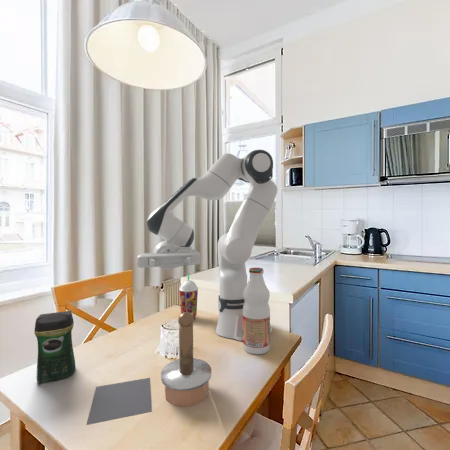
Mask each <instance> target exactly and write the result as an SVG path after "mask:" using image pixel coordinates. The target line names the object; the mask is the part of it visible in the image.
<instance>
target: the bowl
mask: <svg viewBox="0 0 450 450" xmlns="http://www.w3.org/2000/svg"><path fill="white" fill-rule="evenodd" d="M209 381H210V380H209ZM209 381H208V382H207V383H206V384H204V385H203V386H201V387H199V388H196V389H192V390H186V391H179V390H173V389H170V388H168V387H166V386H165V385H164V396H165V400H166V401H167V402H168V403H170V404H173V405H174V406H175V407H191V406H193V405H196V404H199V403H200V402H203V401H204V400H205V398H206V397H207V395H208V393H209V387H210V386H209V385H210V383H209Z"/></svg>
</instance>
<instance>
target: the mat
mask: <svg viewBox="0 0 450 450" xmlns="http://www.w3.org/2000/svg"><path fill="white" fill-rule="evenodd" d="M94 389H95V390H94V395H93V398H92V402H91V405H90V409H89V413H88V417H87V421H86V426H87V425H92V424H96V423H97V424H98V423H101V422H107V421H112V420H117V419H122V418H128V417H132V416H136V415H142V414H146V413H147V414H148V413H151V412H153V409H152V391H151V389H152V388H151V377H145V378H141V379H134V380H129V381H122V382H117V383H111V384H103V385H99V386H95V388H94Z"/></svg>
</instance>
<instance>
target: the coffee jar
mask: <svg viewBox="0 0 450 450" xmlns="http://www.w3.org/2000/svg"><path fill="white" fill-rule="evenodd" d="M73 328H74V317H73V313H72V311H71V310H65V311H60V312H59V311H58V312H49V313H40V315H38V316H37V317H36V319H35V324H34V330H33V331H34V335H35V338H36V340H37V341H36V342H37V358H36V359H37V360H36V361H37V363H36V382H37V383H39V384H45V383H53V382H58V381H62V380H65V379H68V378H70V377H71V376H73V375H74V373H75V371H76V358H75V353H74V347H73V340H72V339H73V338H72V337H73V335H72V331H73Z"/></svg>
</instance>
